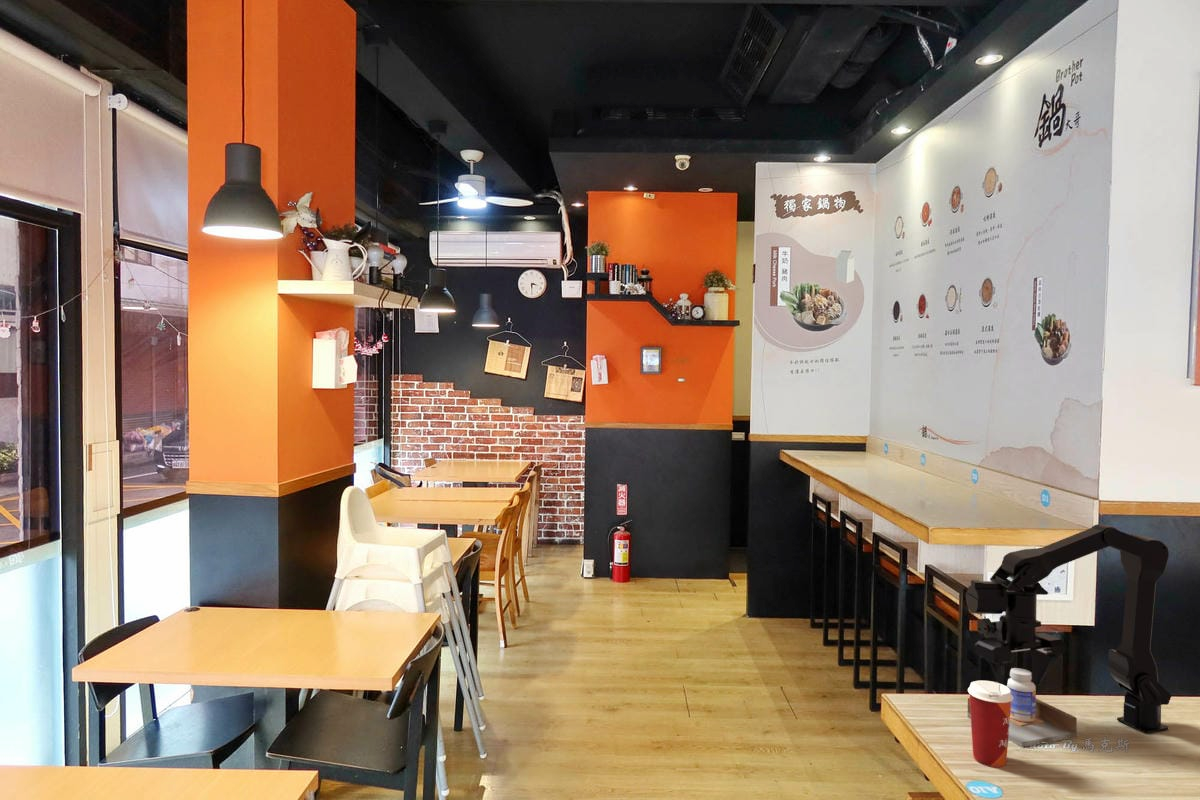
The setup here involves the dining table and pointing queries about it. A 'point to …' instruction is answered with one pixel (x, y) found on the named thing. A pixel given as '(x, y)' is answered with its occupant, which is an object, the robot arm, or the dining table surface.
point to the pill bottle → (1022, 695)
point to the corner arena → (1041, 726)
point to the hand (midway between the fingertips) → (1019, 687)
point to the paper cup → (990, 721)
